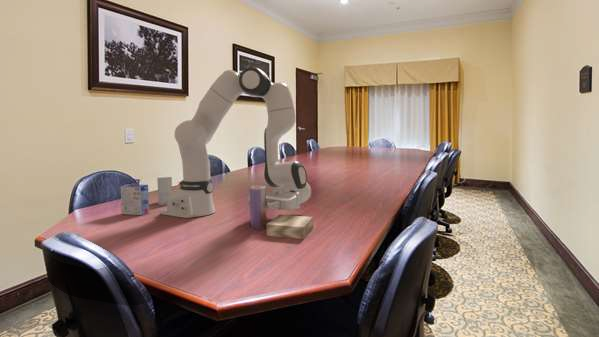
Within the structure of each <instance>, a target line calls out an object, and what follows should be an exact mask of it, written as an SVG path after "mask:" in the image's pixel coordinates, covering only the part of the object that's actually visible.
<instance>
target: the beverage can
mask: <svg viewBox="0 0 599 337" xmlns="http://www.w3.org/2000/svg"><path fill="white" fill-rule="evenodd" d="M266 193H267V189H266V186H265V185H252V186H250V187H249V194H250V205H249V220H250V221H249V224H250V227H251V229H253V230H263V229H265V228H267V224H268V221H267V220H268V219H267V217H268V216H267V215H268V213H267V209H268V208H267V206H266Z"/></svg>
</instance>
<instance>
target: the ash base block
mask: <svg viewBox="0 0 599 337" xmlns="http://www.w3.org/2000/svg"><path fill="white" fill-rule="evenodd" d="M313 229H314V217H313V216H304V215H288V214H287V215H286V214H279V215H277V216H276V217H274V218H273V219H271V221H269V222H267V226H266V236H268V237H276V238H278V237H279V238H287V239H300V240H304V239H305V238H306V237H307V236H308V235H309V234H310V232H311V231H312V230H313Z"/></svg>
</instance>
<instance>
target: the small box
mask: <svg viewBox="0 0 599 337" xmlns="http://www.w3.org/2000/svg"><path fill="white" fill-rule="evenodd" d="M156 178H157V180H156V182H157V202H158V206H167V201H168V199H169V198H170V197H171V196H172V195H173V182H172V181H173V179H172V174H164V175H163V174H160V175H157V176H156Z"/></svg>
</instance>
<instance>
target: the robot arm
mask: <svg viewBox="0 0 599 337" xmlns="http://www.w3.org/2000/svg"><path fill="white" fill-rule="evenodd" d="M242 94H245V95H248V96H249V97H252V98H256V99H257V98H258V99H259V98H262V99H263V100H264V102H265V106H266V112H267V125H266V127H265V129H264V134H263V143H264V148H263V149H264V171H263V172H264V173H263V177H264V180H265V182H266V183H267V185H268V186H269V187H271V188H274V189H273V190H272V191H271V193H270V192H266V208H267V209H270V210H272V209H277V210H280V211H283V210H284V211H292V210H298V209H300V208H301V206H300V205H301V204H303V203H305V202H307V201H308V200H309V199H310V197H311V195H312V187H311V185H310V184H309V183H308V175H307V171H306V168H305V166H304V164H302V163H301V162H300V161H297V160H295V161H287V162H280V161H279V147H278V146H279V141H280V139H281V138H282V137H283V136H285V135H286V134H288V132H290V131H291V130H292V129H293V127H294V125H295V123H296V110H295V105H294V101H293V97H292V93H291V90H290V88H289V86H288V85H287V84H286V83H283V82H272V81H271V78H270V77H269V75H268V74H267V73H266V72H265V71H264V70H262V69H260V68H259V67H256V66H250V67H249V66H248V67H246V68H244V69H243V70H242V71H241V72H240V73H238V71H235V70H232V69H227V70H225V71H223V72H222V73H221V74H220V75H219V76H218V77H217V78H216V80H215V81H214V82H213V83H212V85H211V86H210V87H209V89H208V90H207V91H206V93H205V95H203V97H202V98H201V100H200V101H199V104H198V107H197V109H196V112H195V114H194V115H193V118H192V119H190V120H189V119H188V120H183V121H182V122H181V123H179V124H178V125H177V126H176V127H175V130H174V139H175V141H176V143H177V144H178V149H179V153H180V157H181V163H182V177H183V179H182V180H181V181H178V182H177V186H180V187H179V189H178V190H177V191H175V192H174V193H172V196H171V197H170V198H169V199H168V201H167V205H166V207H165V208H164V209H162V210H161V212H160V213H161V214H160V215H164V216H171V217H176V218H177V217H178V218H184V219H190V218H194V217H195V218H196V217H202V216H203V217H204V216H210V215H213V214H214V213H216V208H215V204H214V200H213V199H214V198H213V194H212V192H213V181H212V178H211V161H210V159H209V155H208V151H207V146H206V145H208V143H209V142H210V141H212V139H213V136H214V135H215V133H216V131H217V129H218V128H219V126H220V124H221V122H222V121H223V119H224V118H225V116H226V115H227V113H228V112H229V111H230V109H231V107H232V106H233V105H234V103H235V102H236V100H237V99H238V98H239V97H240V96H241V95H242ZM246 204H247V205H248V206H250V193H249V194H248V200H247V202H246Z"/></svg>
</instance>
